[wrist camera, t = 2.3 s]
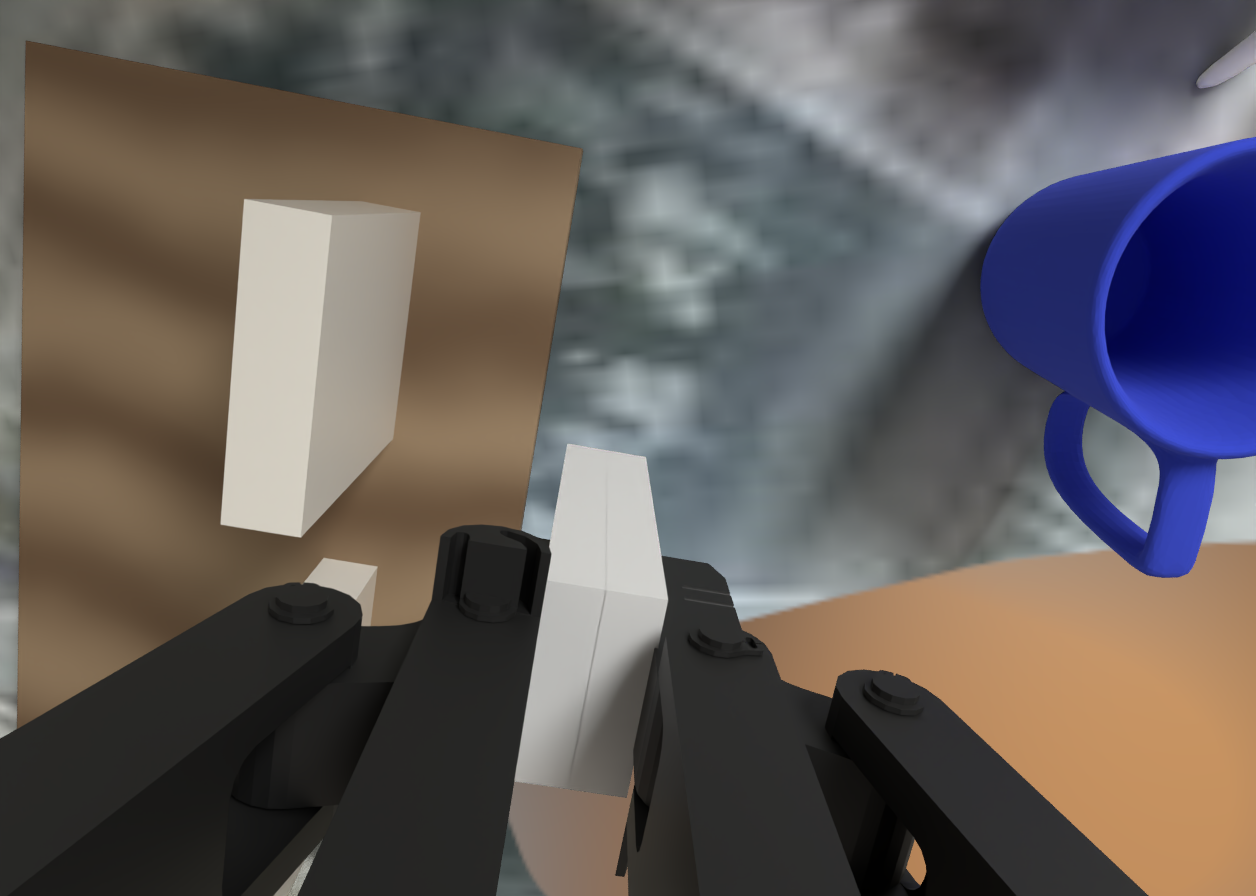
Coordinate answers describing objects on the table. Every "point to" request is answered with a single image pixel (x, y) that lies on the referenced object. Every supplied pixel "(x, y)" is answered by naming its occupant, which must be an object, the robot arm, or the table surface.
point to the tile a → (313, 355)
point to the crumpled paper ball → (1230, 63)
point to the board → (204, 338)
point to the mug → (1139, 329)
